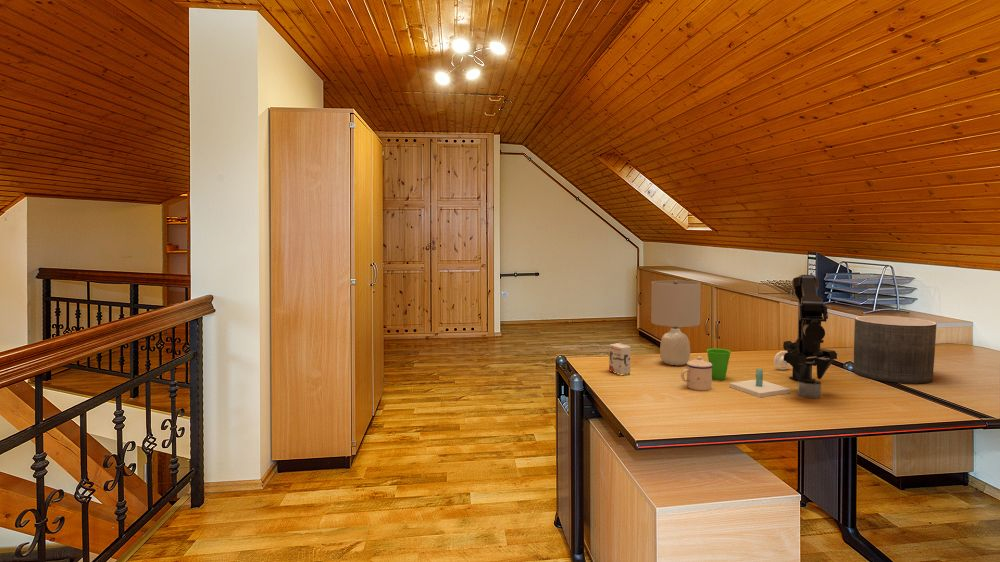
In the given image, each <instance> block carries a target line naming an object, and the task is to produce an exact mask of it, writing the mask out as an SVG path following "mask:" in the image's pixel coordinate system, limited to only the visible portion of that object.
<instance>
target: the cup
mask: <svg viewBox="0 0 1000 562" xmlns="http://www.w3.org/2000/svg"><path fill="white" fill-rule="evenodd" d="M705 352H707V359H708V362H710V363H711V364H712V366H713V367H712V380H716V381H724V380H725V379H726V377H727V372H728V367H729V363H730V362H729V361H730V356H731V354H732V351H731V350H729V349H725V348H724V349H723V348H707V349H706V351H705Z"/></svg>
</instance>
